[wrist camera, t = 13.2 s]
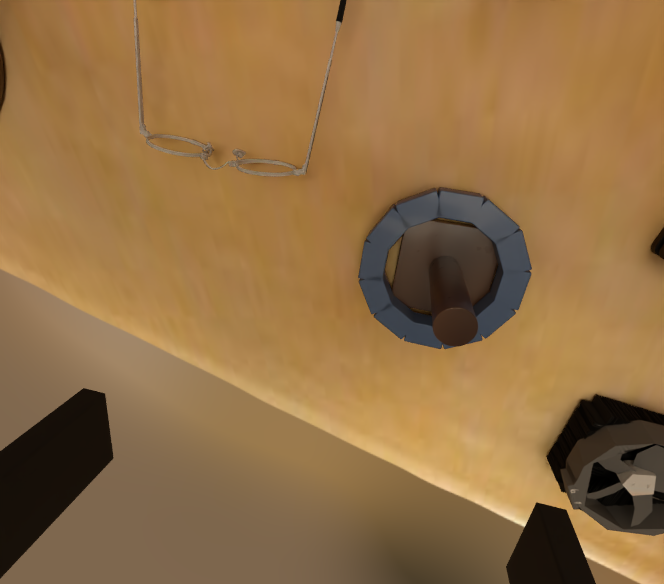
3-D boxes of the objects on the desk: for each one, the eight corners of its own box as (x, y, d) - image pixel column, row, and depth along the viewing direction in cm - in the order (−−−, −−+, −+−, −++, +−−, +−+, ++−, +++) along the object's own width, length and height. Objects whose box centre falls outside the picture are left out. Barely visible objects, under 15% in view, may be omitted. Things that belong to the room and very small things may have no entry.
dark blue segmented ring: (353, 318, 36) (349, 329, 34) (378, 176, 31) (375, 179, 29) (495, 349, 35) (499, 362, 33) (545, 204, 30) (555, 209, 28)
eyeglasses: (153, 145, 35) (113, 146, 31) (158, -124, 28) (108, -175, 23) (319, 187, 34) (304, 195, 29) (373, -88, 26) (363, -136, 22)
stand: (390, 299, 36) (377, 368, 25) (407, 214, 33) (401, 251, 22) (478, 316, 35) (504, 397, 24) (504, 230, 32) (549, 277, 21)
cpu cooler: (752, 470, 29) (674, 554, 33) (701, 419, 34) (640, 497, 38) (610, 425, 30) (551, 512, 34) (581, 383, 35) (533, 463, 39)
